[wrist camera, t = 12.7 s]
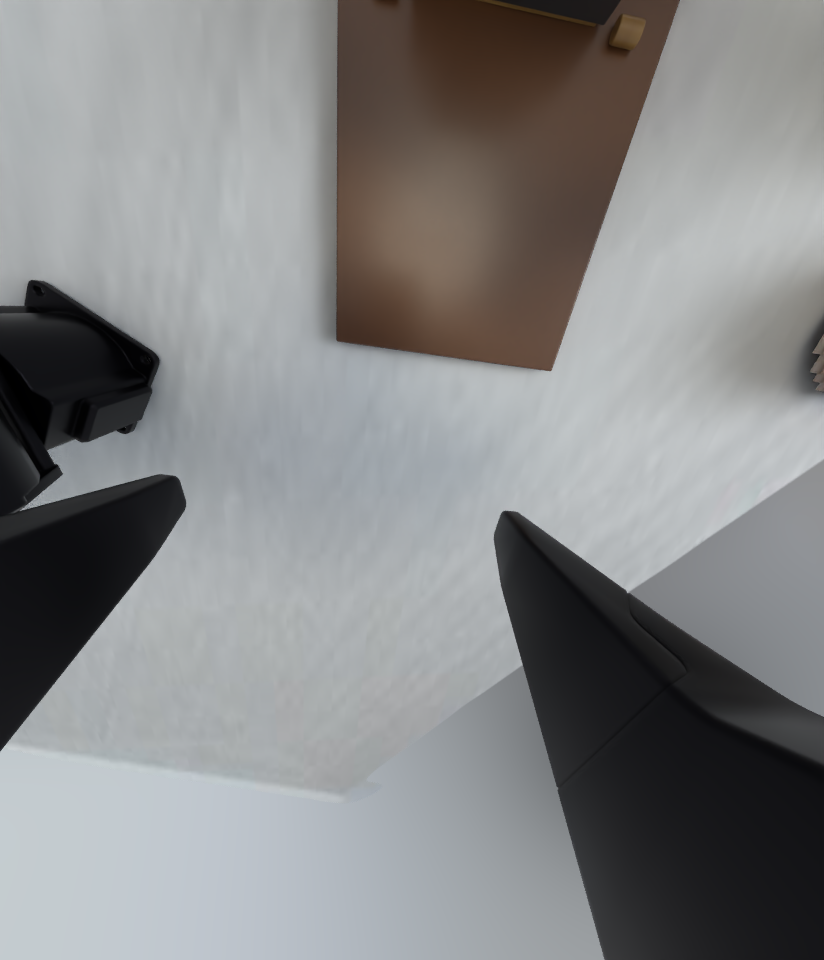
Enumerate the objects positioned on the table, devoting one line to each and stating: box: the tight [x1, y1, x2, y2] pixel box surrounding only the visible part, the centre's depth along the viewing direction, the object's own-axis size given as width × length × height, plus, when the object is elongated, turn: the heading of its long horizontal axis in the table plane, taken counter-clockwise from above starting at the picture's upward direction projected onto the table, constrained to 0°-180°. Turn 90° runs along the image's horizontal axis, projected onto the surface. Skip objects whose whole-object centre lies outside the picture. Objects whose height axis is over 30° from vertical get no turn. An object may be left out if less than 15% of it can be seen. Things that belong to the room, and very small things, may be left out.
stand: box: [336, 0, 680, 371], centre depth 14 cm, size 16×13×2 cm
